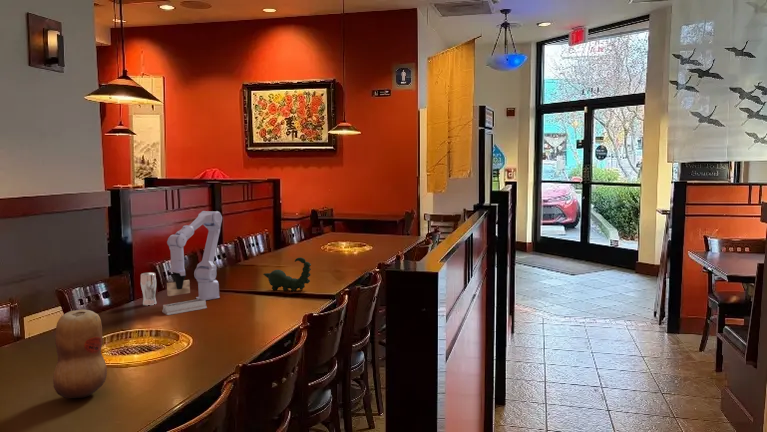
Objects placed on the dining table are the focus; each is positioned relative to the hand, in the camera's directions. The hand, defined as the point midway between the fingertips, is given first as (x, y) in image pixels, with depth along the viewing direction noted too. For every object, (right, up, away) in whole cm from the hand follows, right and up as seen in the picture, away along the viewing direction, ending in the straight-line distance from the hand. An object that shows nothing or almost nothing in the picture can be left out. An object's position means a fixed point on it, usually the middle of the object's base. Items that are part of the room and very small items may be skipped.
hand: (178, 288), depth 256 cm
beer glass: (-17, -9, +8) cm, 21 cm away
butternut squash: (+9, -18, -98) cm, 100 cm away
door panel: (0, -3, 0) cm, 3 cm away
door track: (+4, -9, -4) cm, 11 cm away
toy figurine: (+45, -6, +33) cm, 56 cm away
